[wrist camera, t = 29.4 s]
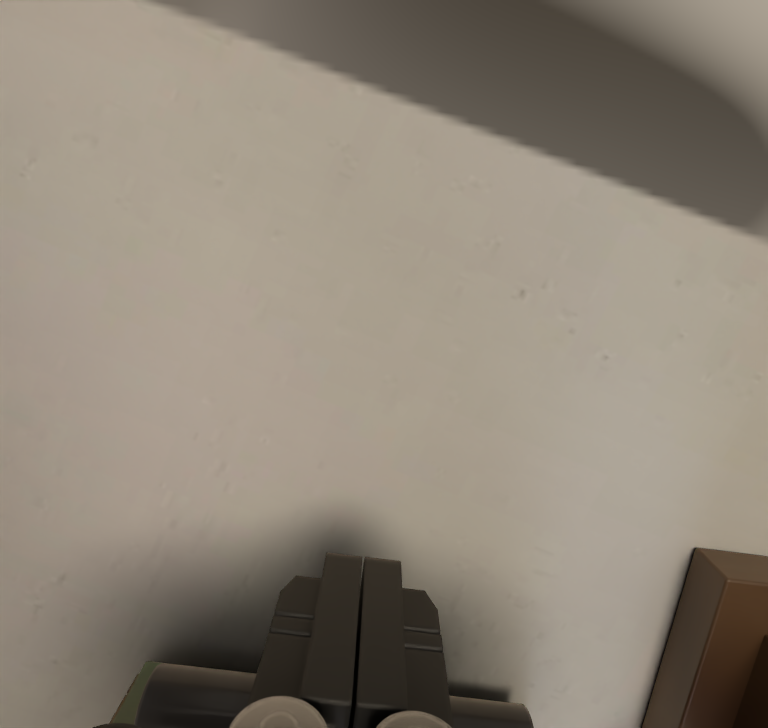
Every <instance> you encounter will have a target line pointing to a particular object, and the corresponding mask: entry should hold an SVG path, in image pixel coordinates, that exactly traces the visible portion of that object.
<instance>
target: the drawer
mask: <svg viewBox="0 0 768 728" xmlns="http://www.w3.org/2000/svg"><path fill="white" fill-rule="evenodd" d="M255 677H256V673H248V672H239V671H230V670H221V669H213V668H204V667H195V666H187V665H178V664H169V663H160V662H152V661H147V662H145V664H144V666H143V668H142V669H141V671H140V673H139V675H138V677H137V678H136V680H135V682H134V684H133V686H132V687H131V689H130V691H129V693H128V695H127V696H126V698H125V700H124V702H123V704H122V705H121V707H120V709H119V711H118V712H117V714H116V716H115V718H114V720H113V721H112V723H127V724H133V725H136V726H139V727H141V728H229V727H230V725H231V723H232V721H233V720H234V719H235V717H236V716H237V715H238V714H239V713H240V712H241V711H242V710H243V709H244V708H246V706H247V703H248V701H249V698H250V694H251V691H252V688H253V684H254V681H255ZM450 704H451V711H452V718H453V724H454V728H533V723H532V719H531V716H530V714H529V711H528V710H527V708H526V707H525V706H524V705H523V704H518V703H509V702H500V701H492V700H483V699H474V698H465V697H457V696H450Z"/></svg>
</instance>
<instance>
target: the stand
mask: <svg viewBox="0 0 768 728" xmlns="http://www.w3.org/2000/svg"><path fill="white" fill-rule="evenodd" d="M642 728H768V557H766V556H758V555H750V554H742V553H734V552H726V551H718V550H710V549H702V548H696V549H695V552H694V555H693V559H692V562H691V565H690V569H689V572H688V575H687V579H686V582H685V585H684V589H683V592H682V595H681V599H680V602H679V605H678V609H677V612H676V615H675V619H674V622H673V625H672V629H671V632H670V636H669V639H668V642H667V646H666V649H665V652H664V656H663V659H662V662H661V666H660V669H659V672H658V676H657V679H656V682H655V686H654V689H653V692H652V696H651V699H650V702H649V706H648V709H647V712H646V716H645V719H644V722H643V726H642Z"/></svg>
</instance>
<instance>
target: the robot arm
mask: <svg viewBox="0 0 768 728" xmlns="http://www.w3.org/2000/svg"><path fill="white" fill-rule="evenodd" d="M361 566H362V557H361V556H352V555H344V554H336V553H328V552H327V553H326V558H325V564H324V569H323V575H322V579H321V578H312V577H304V576H295V577H294V578H293V579H292V580H291V581H290V582H289V583H288V584H287V585H286V586H285V587H284V588H283V589H282V590H281V592H280V595H279V599H278V602H277V605H276V609H275V613H274V616H273V619H272V622H271V626H270V630H269V633H268V636H267V640H266V643H265V646H264V650H263V653H262V657H261V660H260V664H259V667H258V670H257V674H256V677H255V681H254V684H253V688H252V691H251V694H250V698H249V701H248V703H247V706H246V708H244V709H243V710H242V711H241V712H240V713H239V714H238V715H237V716H236V717H235V719H234V720H233V721H232V723H231V725H230V727H229V728H454V724H453V718H452V711H451V704H450V696H449V689H448V682H447V675H446V667H445V660H444V653H443V646H442V639H441V635H440V624H439V617H438V610H437V608H436V607H435V605H434V604H433V602H432V601H431V600H430V598H429V597H428V595H427V594H426V592H425V591H422V590H414V589H405V588H402V575H401V562H400V561H395V560H387V559H378V558H370V557H365V559H364V565H363V572H362V579H361ZM360 580H361V586H360ZM93 728H141V727H139V726H136V725H133V724H127V723H111V724H104V725H100V726H96V727H93Z"/></svg>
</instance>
